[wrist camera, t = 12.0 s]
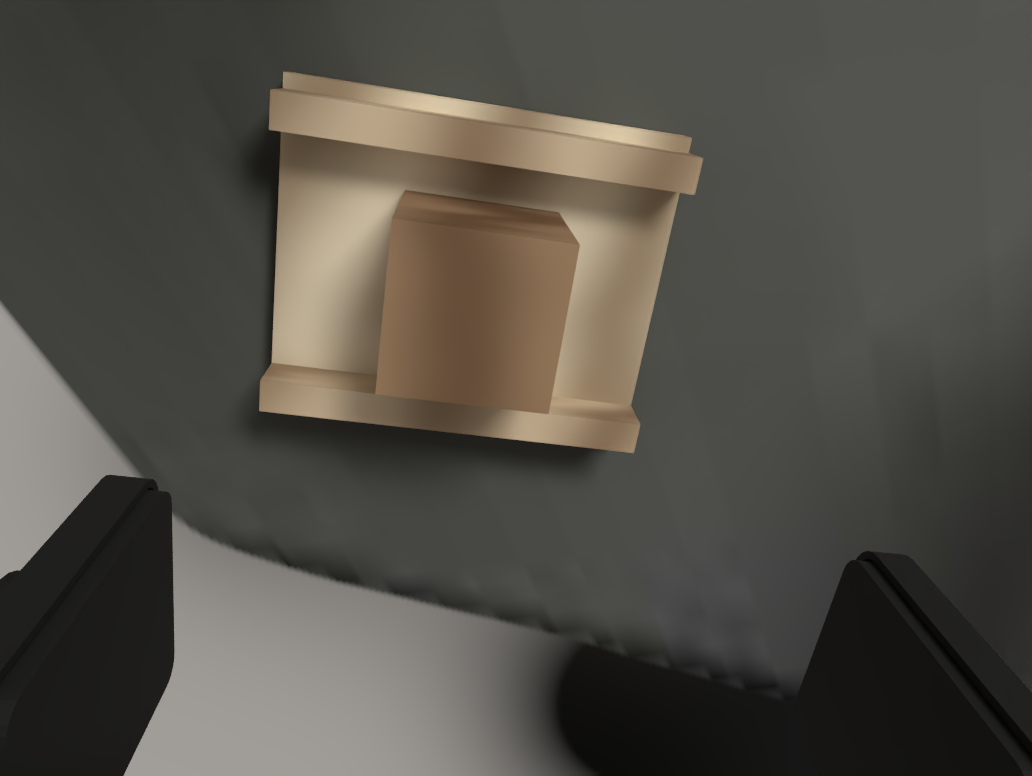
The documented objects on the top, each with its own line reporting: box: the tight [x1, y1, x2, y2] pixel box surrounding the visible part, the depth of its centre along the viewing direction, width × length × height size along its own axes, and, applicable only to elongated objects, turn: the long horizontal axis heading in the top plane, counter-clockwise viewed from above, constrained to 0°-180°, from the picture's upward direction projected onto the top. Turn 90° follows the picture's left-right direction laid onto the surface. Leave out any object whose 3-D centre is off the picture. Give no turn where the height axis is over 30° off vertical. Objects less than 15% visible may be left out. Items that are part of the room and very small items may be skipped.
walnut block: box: [375, 190, 580, 414], centre depth 26 cm, size 6×6×6 cm
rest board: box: [259, 72, 703, 453], centre depth 28 cm, size 14×12×3 cm
